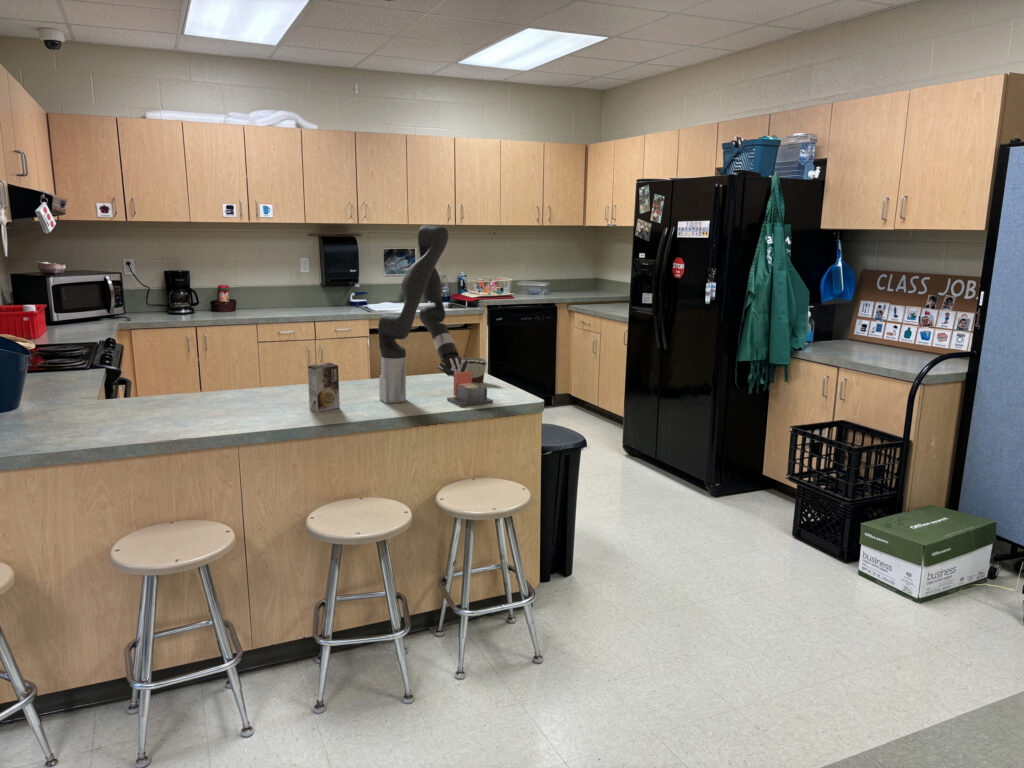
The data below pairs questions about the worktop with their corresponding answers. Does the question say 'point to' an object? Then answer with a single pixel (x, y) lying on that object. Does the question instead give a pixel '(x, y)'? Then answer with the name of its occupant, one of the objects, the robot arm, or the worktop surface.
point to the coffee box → (323, 387)
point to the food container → (475, 368)
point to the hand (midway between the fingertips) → (460, 383)
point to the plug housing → (470, 396)
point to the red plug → (463, 381)
